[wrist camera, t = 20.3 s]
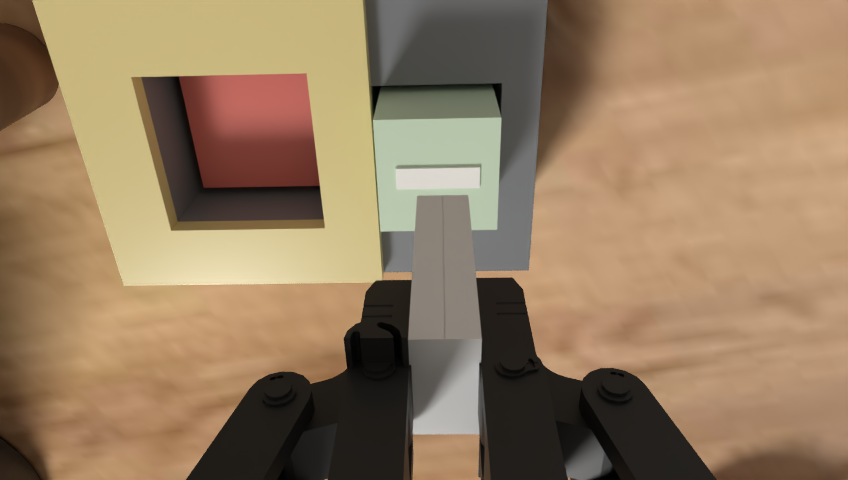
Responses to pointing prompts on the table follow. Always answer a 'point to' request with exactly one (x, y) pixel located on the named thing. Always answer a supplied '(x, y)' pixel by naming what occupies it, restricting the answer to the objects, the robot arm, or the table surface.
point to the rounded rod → (23, 74)
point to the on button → (437, 150)
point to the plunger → (252, 129)
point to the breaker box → (331, 117)
